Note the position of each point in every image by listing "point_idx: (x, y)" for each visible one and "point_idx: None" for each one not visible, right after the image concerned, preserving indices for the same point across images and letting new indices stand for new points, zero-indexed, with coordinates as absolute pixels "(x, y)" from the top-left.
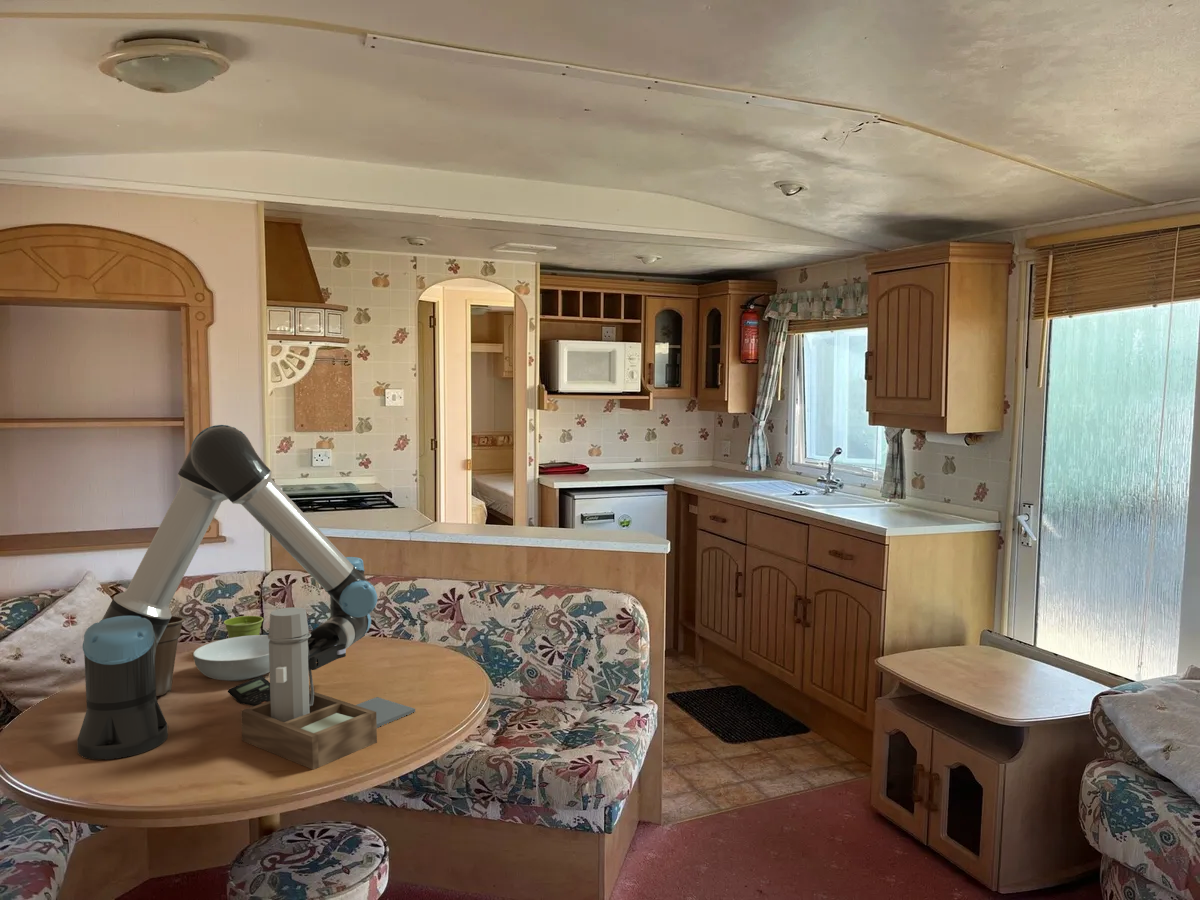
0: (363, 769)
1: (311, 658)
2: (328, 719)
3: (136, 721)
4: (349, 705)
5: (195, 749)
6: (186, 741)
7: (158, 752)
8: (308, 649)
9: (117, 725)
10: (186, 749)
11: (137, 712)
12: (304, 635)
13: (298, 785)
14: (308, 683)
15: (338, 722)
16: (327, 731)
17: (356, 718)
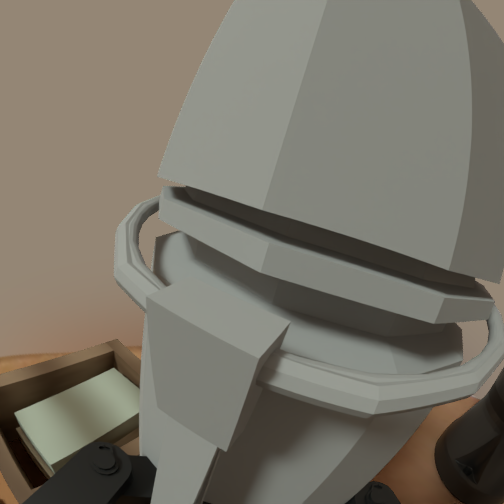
0: (42, 359)
1: (116, 446)
2: (75, 431)
3: (471, 417)
4: (7, 461)
5: (380, 479)
6: (419, 498)
7: (420, 460)
8: (154, 495)
9: (474, 405)
10: (393, 476)
11: (483, 410)
12: (180, 187)
13: (137, 355)
14: None
15: (53, 403)
16: (85, 350)
17: (14, 374)
